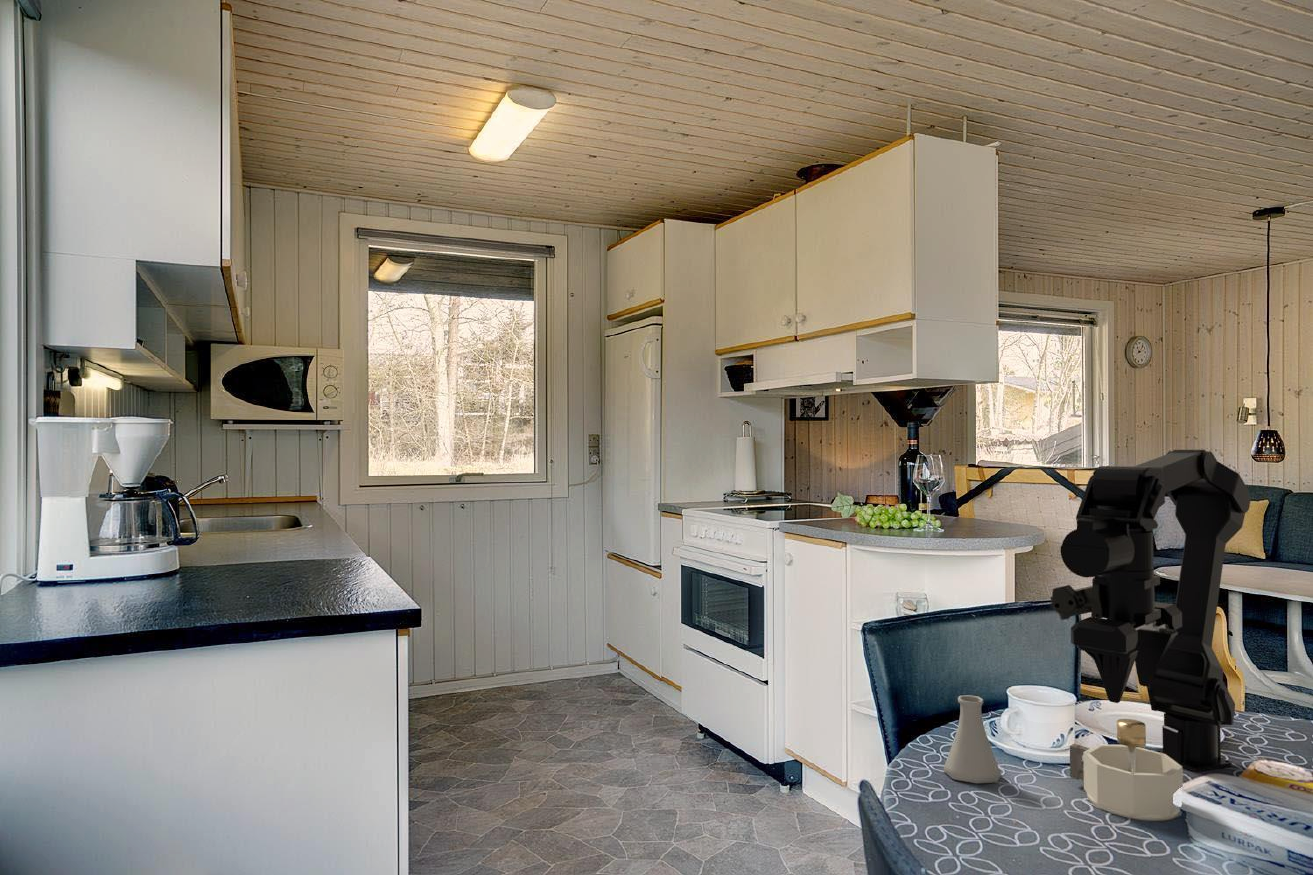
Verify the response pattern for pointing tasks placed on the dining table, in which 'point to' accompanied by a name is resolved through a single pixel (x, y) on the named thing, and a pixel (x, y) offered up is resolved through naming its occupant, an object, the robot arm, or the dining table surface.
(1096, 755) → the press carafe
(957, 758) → the flask
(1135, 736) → the plunger
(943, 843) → the dining table surface
